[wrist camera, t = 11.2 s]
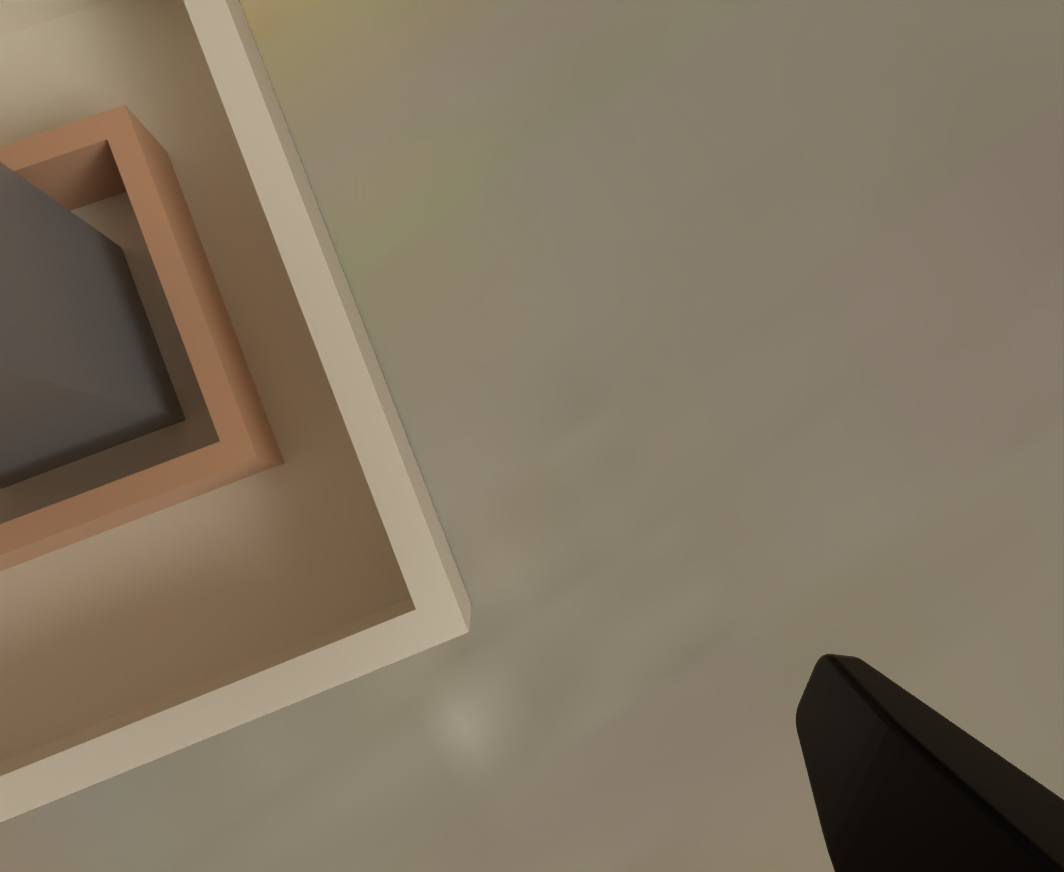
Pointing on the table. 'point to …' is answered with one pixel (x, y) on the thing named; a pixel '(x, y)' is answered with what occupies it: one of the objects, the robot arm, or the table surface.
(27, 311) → the plug
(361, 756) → the table surface
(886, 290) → the table surface
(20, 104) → the box
